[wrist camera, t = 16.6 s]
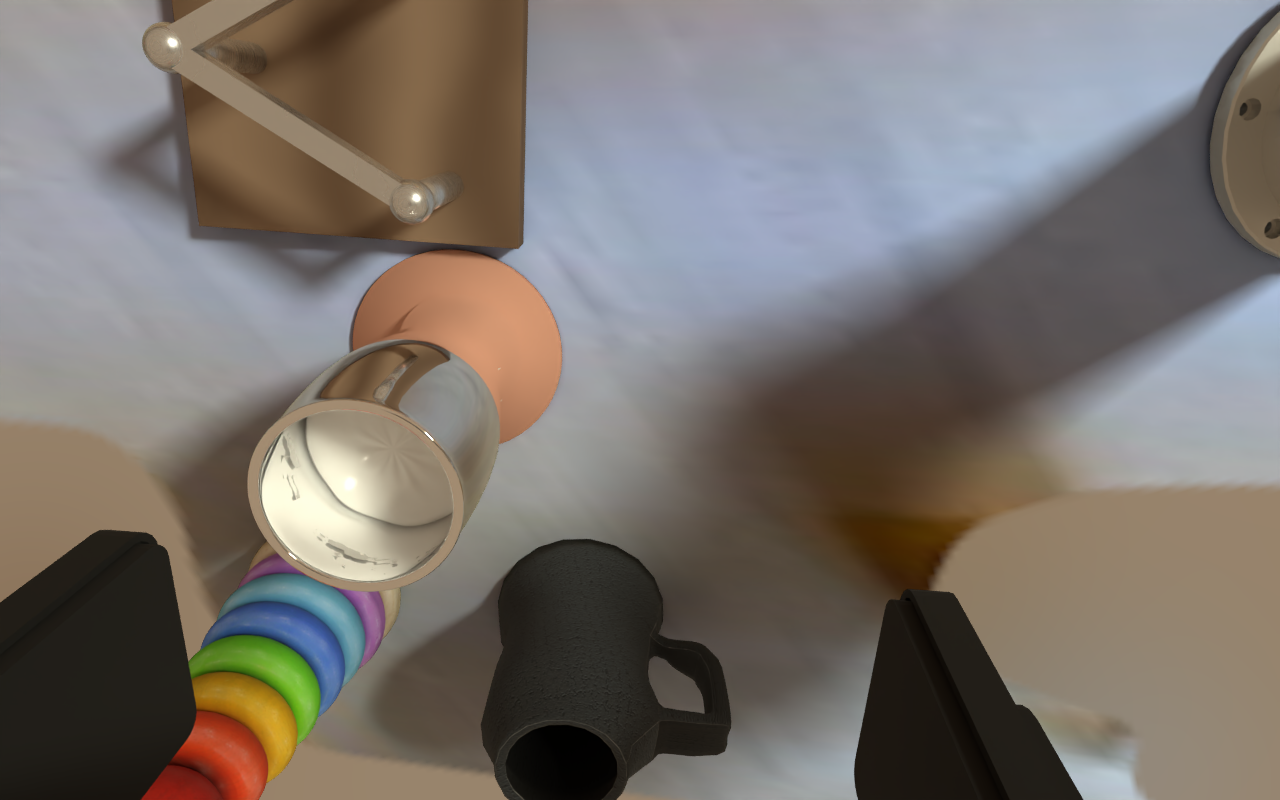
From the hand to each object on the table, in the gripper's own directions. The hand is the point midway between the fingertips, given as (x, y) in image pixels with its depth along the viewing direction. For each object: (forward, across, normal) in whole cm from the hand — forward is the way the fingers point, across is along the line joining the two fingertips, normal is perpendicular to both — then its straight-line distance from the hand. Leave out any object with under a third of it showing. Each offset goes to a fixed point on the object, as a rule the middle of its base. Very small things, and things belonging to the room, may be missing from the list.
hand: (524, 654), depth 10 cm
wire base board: (+28, +12, -7) cm, 31 cm away
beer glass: (+28, +8, +5) cm, 29 cm away
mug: (+28, 0, +20) cm, 35 cm away
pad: (+28, +8, +5) cm, 29 cm away
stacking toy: (+28, +16, +19) cm, 37 cm away
